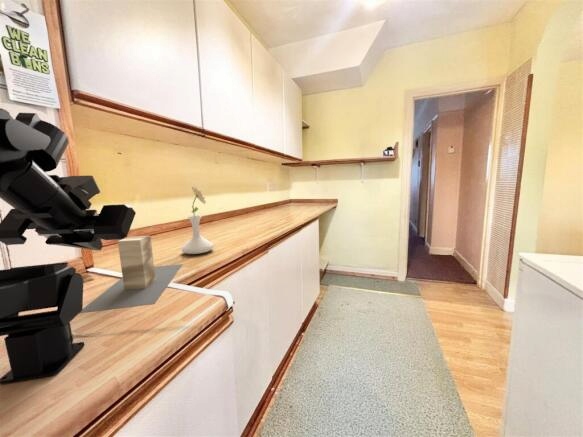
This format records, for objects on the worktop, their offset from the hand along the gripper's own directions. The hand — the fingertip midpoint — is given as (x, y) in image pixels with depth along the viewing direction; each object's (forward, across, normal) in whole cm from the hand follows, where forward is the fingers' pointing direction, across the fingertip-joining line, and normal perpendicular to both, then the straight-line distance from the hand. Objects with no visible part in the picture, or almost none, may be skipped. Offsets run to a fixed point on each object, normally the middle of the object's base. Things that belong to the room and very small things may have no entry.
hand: (99, 248), depth 47 cm
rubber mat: (+18, 0, 0) cm, 19 cm away
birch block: (+17, 0, +1) cm, 17 cm away
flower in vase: (+40, -6, -21) cm, 45 cm away
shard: (+21, +18, -1) cm, 28 cm away
